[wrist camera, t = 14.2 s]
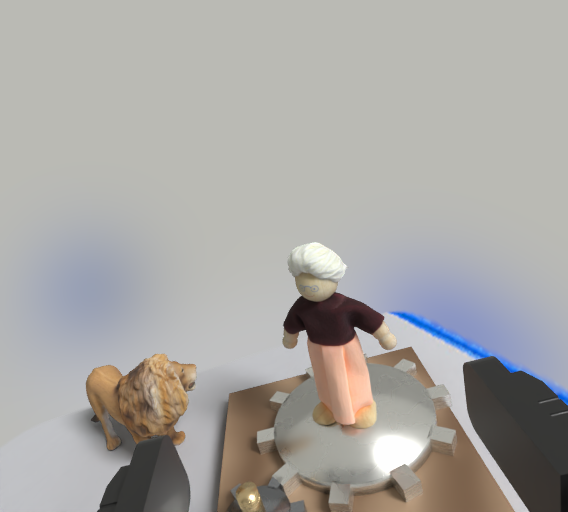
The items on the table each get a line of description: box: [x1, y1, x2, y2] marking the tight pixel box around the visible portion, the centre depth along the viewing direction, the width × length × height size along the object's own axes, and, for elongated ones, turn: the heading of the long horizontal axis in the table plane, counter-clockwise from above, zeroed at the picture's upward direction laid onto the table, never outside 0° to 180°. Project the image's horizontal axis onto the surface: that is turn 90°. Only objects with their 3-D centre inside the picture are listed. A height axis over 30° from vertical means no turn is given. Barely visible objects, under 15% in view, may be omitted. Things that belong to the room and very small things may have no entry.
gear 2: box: [257, 354, 457, 512], centre depth 29 cm, size 13×13×1 cm
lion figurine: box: [86, 354, 197, 450], centre depth 34 cm, size 15×5×9 cm, turn 62°
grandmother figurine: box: [283, 242, 397, 429], centre depth 27 cm, size 8×4×13 cm, turn 78°
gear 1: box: [226, 477, 307, 512], centre depth 23 cm, size 6×5×3 cm
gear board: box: [217, 347, 515, 512], centre depth 28 cm, size 16×17×2 cm
